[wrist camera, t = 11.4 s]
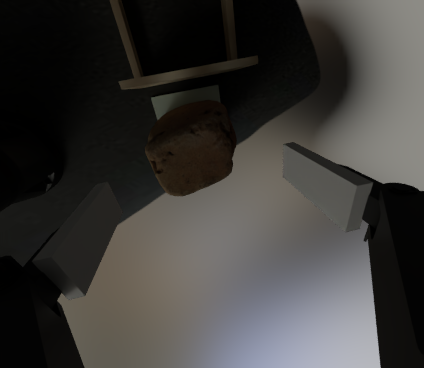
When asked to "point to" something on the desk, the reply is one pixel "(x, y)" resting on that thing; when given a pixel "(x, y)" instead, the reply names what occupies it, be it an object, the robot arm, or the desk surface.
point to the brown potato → (192, 147)
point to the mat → (184, 99)
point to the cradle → (183, 74)
